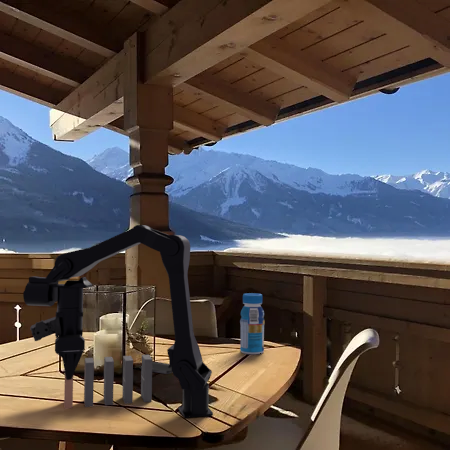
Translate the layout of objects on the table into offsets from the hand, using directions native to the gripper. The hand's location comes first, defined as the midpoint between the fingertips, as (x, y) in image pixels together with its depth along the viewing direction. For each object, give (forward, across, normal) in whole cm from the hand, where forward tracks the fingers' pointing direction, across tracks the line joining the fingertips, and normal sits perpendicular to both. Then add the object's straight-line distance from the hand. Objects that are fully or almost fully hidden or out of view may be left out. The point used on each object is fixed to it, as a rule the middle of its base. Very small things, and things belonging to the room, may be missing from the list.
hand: (68, 374), depth 119 cm
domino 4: (+7, 0, +14) cm, 15 cm away
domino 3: (+7, 0, +9) cm, 11 cm away
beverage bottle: (+7, -42, +61) cm, 74 cm away
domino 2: (+7, 0, +5) cm, 8 cm away
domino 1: (+7, 0, 0) cm, 7 cm away
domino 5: (+7, 0, +18) cm, 19 cm away
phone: (+8, -29, +25) cm, 39 cm away
